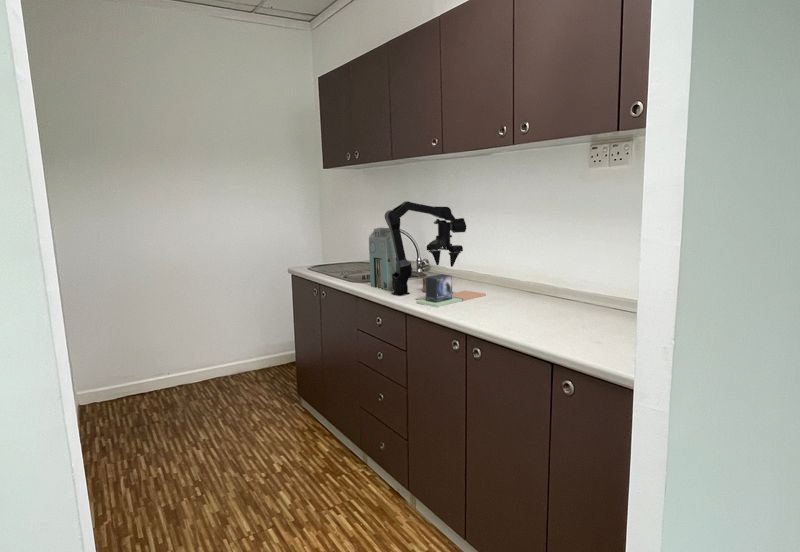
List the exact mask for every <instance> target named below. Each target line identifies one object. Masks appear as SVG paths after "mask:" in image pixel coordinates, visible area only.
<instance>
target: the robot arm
mask: <svg viewBox="0 0 800 552" xmlns="http://www.w3.org/2000/svg"><path fill="white" fill-rule="evenodd" d="M409 211H412V212H417V213H421V214H427V215H431V216H433V217H436V220H434V222H433V224H434V225H437V235H436V236H435V239H433V240H432V241H430V242H429V243H428V244H427V245H426V251H428V253H430V254H431V255H432V256H433V260H434V262H435V265H436V266H439V264H440V260H441V251H449V252H448V255H449V260H450V261H449V262H450V263H449V264H450V267H451V268H452V267H454V264H455V262H456V260H457V258H458V256H459V255H460V254H461V253H462V252H463V251H464V247H463V245H459V244H454V245H453V243H451V238H453V235H452V234H451V232H452V233H454V234H457V233H466V230H467V224H466V223H467V222H466V220H465V217H460V218H456V217H455V215H453V213H452V210H451V207H448V206H431V205H426V204H423V203H422V204H420V203H416V202H411V201H403V202H402V203H401V204H400V205H398V206H396V207H394V208H393V209H389V210H387V211H385V214H384V220H385V221H386V224H387V228H390V231H391V235H392V240H393V244H394V249H395V254H396V258H397V262H396V272H395V273H394V274H393V275H392V279H393V280H394V281H393V288H394V290H393V292H391V293H390V294H391V295H395V296H405V295H409V294H411V293H410V292H409V289H408V281H409V278H410V277H411V276H412V274H413V272H412V271H414V269H413V268H412V262H411V260H407V257H406V253H405V247H404V242H403V238H402V233H401V218H402V216H404V215H405V214H406V213H407V212H409Z"/></svg>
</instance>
